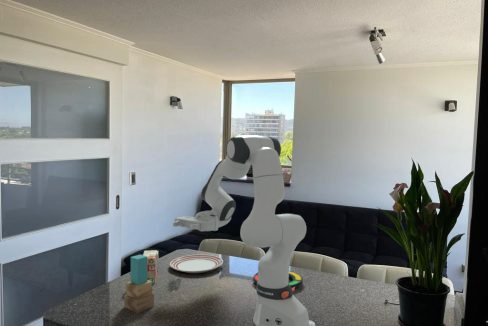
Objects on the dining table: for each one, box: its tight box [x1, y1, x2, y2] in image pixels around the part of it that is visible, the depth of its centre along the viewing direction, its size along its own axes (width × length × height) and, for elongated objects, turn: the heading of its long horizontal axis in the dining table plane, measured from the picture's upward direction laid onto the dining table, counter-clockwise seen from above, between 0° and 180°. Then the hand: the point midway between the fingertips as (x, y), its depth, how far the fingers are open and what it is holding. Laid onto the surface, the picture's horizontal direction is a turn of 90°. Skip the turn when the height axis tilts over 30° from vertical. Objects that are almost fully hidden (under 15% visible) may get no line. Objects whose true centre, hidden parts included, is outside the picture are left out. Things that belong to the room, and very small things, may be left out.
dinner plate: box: [169, 253, 224, 274], centre depth 195 cm, size 28×27×3 cm
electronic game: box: [252, 270, 304, 289], centre depth 174 cm, size 23×23×5 cm
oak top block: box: [125, 280, 153, 299], centre depth 147 cm, size 7×7×5 cm
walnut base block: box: [123, 292, 155, 314], centre depth 148 cm, size 8×8×5 cm
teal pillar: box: [130, 254, 147, 285], centre depth 147 cm, size 4×4×10 cm
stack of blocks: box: [142, 249, 160, 285], centre depth 181 cm, size 21×6×12 cm, turn 9°
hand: (181, 226), depth 160 cm, fingers open, 8 cm apart
